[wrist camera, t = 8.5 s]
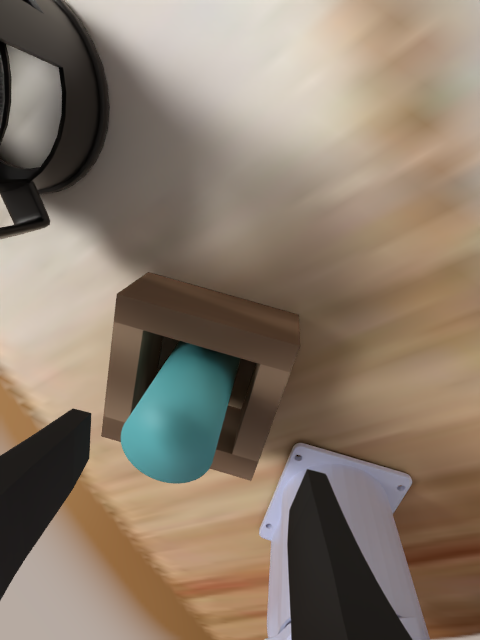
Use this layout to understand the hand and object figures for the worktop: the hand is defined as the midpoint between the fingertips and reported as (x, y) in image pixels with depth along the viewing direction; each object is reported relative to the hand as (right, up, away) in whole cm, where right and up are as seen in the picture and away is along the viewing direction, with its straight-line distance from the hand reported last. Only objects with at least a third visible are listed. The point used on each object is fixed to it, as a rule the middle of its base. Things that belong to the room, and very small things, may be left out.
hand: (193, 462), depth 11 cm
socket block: (-1, +2, +11) cm, 11 cm away
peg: (0, +2, +10) cm, 11 cm away
